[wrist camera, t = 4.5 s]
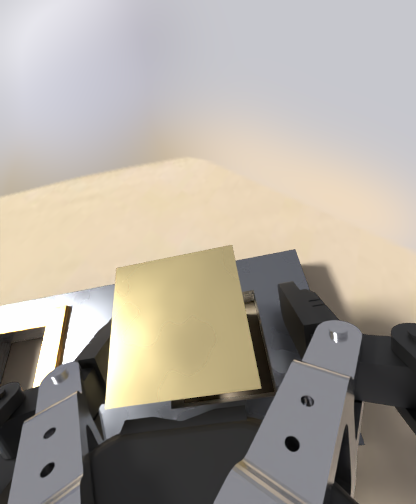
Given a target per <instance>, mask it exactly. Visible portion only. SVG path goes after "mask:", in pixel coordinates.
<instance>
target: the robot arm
mask: <svg viewBox="0 0 416 504" xmlns="http://www.w3.org/2000/svg"><path fill="white" fill-rule="evenodd" d="M278 294H279V301H280V307H281V313H282V318H283V321H284V324H285V326H286V328H287V330H288V332H289V334H290V336H291V338H292V341H293V343H294V345H295V347H296V349H297V351H298V353H299V355H300V357H301V360H302V361H300V360H297V359H294V360H293V361H292V363H291V365H290V367H289V369H288V371H287V373H286V375H285V377H284V379H283V381H282V383H281V385H280V387H279V389H278V391H277V393H276V395H275V397H274V399H273V401H272V403H271V405H270V407H269V409H268V411H267V413H266V415H265V417H264V420H261V419H257V418H254V417H248V416H247V412H246V407H245V405H241V406H233V407H225V408H217V409H213V410H210V411H207V412H205V413H202V414H200V415H197V416H194V417H192V418H189V419H187V420H184V421H177V420H171V419H165V418H159V417H146V418H138V419H130V420H125V421H124V424H123V426H122V429H121V432H120V433H118V434H116V435H114V436H112V437H110V438H108V439H107V438H106V433H105V428H104V423H103V418H102V414H101V411H100V409H99V408H100V406H101V405H102V404H105V400H106V388H107V375H108V363H109V351H110V339H111V326H112V318H111V319H110V320H109V322H108V323H107V324H106V325H104V326H103V327H102V328H100V329H99V330H98V331H97V333H96V334H95V335H94V336H93V338H92V339H91V340H90V341H89V342H88V343H89V344H87V345H86V346H85V347H84V349H83V350H82V351H81V352H80V353H79V355H78V356H77V357H76V358H75V360H74V361H72V362H67V363H64V364H62V365H60V366H58V367H56V368H54V369H53V370H52V371H50V372H49V373H48V374H47V375H46V376H45V377H44V378H43V379H42V380H41V382H40V385H39V386H36V387H34V388H31V389H28V390H26V391H23V390H22V388H21V386H20V384H19V383H18V382H12V383H8V384H5V385H3V386H1V387H0V504H358V503H357V502H356V501H355V500H354V493H355V484H356V472H357V452H358V444H359V437H360V429H361V422H362V415H363V407H364V401H365V402H371V403H378V404H384V405H390V406H395V408H396V409H397V410H398V412H399V413H400V414H401V416H402V417H403V418H404V420H405V421H406V422H407V424H408V425H409V426H410V428H411V429H412V430H413V432H414V433H415V435H416V323H403V324H398V325H396V326H394V327H393V328H392V330H391V336H375V335H366V334H362V333H361V331H360V330H359V329H358V328H357V327H356V326H354V325H353V324H350V323H348V322H344V321H340V320H339V319H338V318H337V317H336V316H335V315H334V314H333V313H332V311H331V310H330V309H329V308H328V307H327V306H326V305H325V304H324V302H323V301H322V300H320V298H319V297H318V296H317V294H316V293H314V292H312V291H310V290H308V289H302V290H300V289H299V288H298V287H297V286H296V284H295V283H294V282H293V281H290V282H285V283H279V284H278Z"/></svg>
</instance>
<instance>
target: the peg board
mask: <svg viewBox="0 0 416 504" xmlns="http://www.w3.org/2000/svg"><path fill="white" fill-rule="evenodd" d="M236 266H237V271H238V276H239V281H240V286H241V291H242V296H243V300H244V303H245V302H250V301H254V303H255V307H256V312H257V316H258V321H259V325H260V329H261V334H262V338H263V343H264V347H265V352H266V356H267V360H268V365H269V369H270V374H271V378H272V383H273V387H274V391H275V392H269V393H262V394H254V395H246V396H239V397H231V398H223V399H216V400H208V401H200V402H193V403H185V404H184V399H179V400H171V401H164V402H156V403H148V404H141V405H133V406H126V407H118V408H111V409H105V404H102V405H101V406H100V408H99V409H100V411H101V414H102V418H103V423H104V428H105V433H106V438H107V439H108V438H110V437H112V436H114V435H116V434H118V433H120V432H121V429H122V426H123V424H124V421H125V420H130V419H138V418H146V417H159V418H165V419H171V420H177V421H184V420H187V419H189V418H192V417H194V416H197V415H200V414H202V413H205V412H207V411H210V410H213V409H217V408H225V407H233V406H241V405H245V407H246V412H247V416H248V417H254V418H257V419H261V420H264V417H265V415H266V413H267V411H268V409H269V407H270V405H271V403H272V401H273V399H274V397H275V395H276V393H277V391H278V389H279V387H280V385H281V383H282V381H283V379H284V377H285V375H286V373H287V371H288V369H289V367H290V365H291V363H292V361H293V360H294V359H297V360H300V361H302V360H301V357H300V355H299V353H298V351H297V349H296V347H295V345H294V343H293V341H292V338H291V336H290V334H289V332H288V330H287V328H286V326H285V324H284V321H283V318H282V313H281V307H280V301H279V294H278V284H279V283H285V282H290V281H293V282H294V283H295V284H296V286H297V287H298V288H299V289H300V290H302V289H308V290H309V287H308V284H307V281H306V278H305V276H304V273H303V270H302V267H301V264H300V262H299V259H298V256H297V253H296V250H295V249H294V250H289V251H284V252H279V253H273V254H268V255H263V256H258V257H253V258H248V259H242V260H237V261H236ZM114 290H115V284H113V285H107V286H102V287H97V288H92V289H87V290H81V291H76V292H71V293H66V294H61V295H56V296H50V297H45V298H40V299H35V300H30V301H24V302H19V303H14V304H9V305H4V306H0V383H1V379H2V376H3V372H4V369H5V365H6V361H7V358H8V354H9V351H10V347H11V343H13V342H19V341H25V340H30V339H36V338H42V337H44V339H43V344H42V349H41V353H40V358H39V362H38V367H37V372H36V376H35V381H34V385H33V388H34V387H36V386H39V385H40V382H41V380H42V379H43V378H44V377H45V376H46V375H47V374H48V373H49V372H50V371H52V370H53V369H54V368H56V367H58V366H60V365H62V364H64V363H67V362H72V361H74V360H75V358H76V357H77V356H78V355H79V353H80V352H81V351H82V350H83V349H84V347H85V346H86V345H87V344H89V343H88V342H89V341H90V340H91V339H92V338H93V336H94V335H95V334H96V333H97V331H98V330H99V329H100V328H102V327H103V326H104V325H106V324H107V323H108V322H109V320H110V319H111V318H112V314H113V302H114ZM358 445H365V444H364V441H363V438H362V435H361V433H360V437H359V444H358Z"/></svg>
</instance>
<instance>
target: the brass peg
mask: <svg viewBox="0 0 416 504" xmlns="http://www.w3.org/2000/svg"><path fill="white" fill-rule="evenodd" d="M254 389H261V384H260V379H259V374H258V369H257V364H256V359H255V354H254V350H253V345H252V340H251V335H250V330H249V325H248V320H247V315H246V310H245V305H244V300H243V296H242V291H241V286H240V281H239V276H238V271H237V266H236V261H235V256H234V251H233V247H232V245H229V246H224V247H219V248H214V249H209V250H204V251H199V252H194V253H189V254H184V255H179V256H174V257H169V258H164V259H159V260H154V261H149V262H144V263H139V264H134V265H129V266H124V267H119V268H116V277H115V290H114V302H113V314H112V326H111V339H110V351H109V363H108V375H107V388H106V400H105V409H111V408H118V407H126V406H133V405H141V404H148V403H156V402H164V401H171V400H179V399H186V398H194V397H201V396H209V395H216V394H224V393H231V392H239V391H246V390H254Z"/></svg>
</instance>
